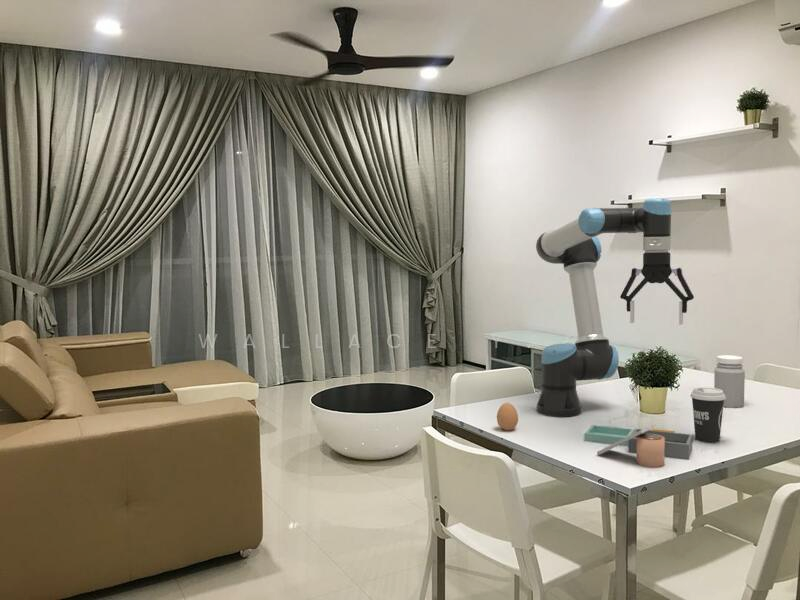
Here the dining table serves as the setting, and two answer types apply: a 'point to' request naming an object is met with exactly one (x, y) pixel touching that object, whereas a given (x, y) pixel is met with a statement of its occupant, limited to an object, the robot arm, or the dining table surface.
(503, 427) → the egg
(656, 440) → the salmon cylinder
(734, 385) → the jar
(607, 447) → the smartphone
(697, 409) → the coffee cup
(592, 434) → the trough
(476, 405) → the dining table surface
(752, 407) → the dining table surface
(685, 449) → the grey storage tray
